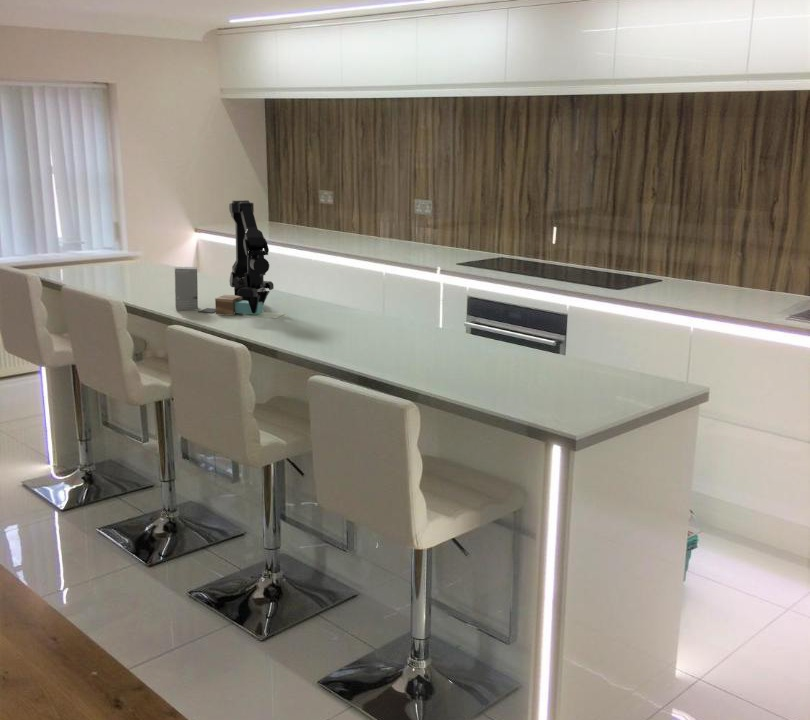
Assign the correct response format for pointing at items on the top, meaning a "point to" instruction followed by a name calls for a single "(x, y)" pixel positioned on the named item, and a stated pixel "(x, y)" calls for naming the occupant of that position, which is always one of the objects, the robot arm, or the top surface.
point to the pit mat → (208, 310)
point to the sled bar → (247, 307)
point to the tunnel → (226, 304)
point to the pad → (265, 315)
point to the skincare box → (186, 288)
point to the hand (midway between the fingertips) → (256, 311)
